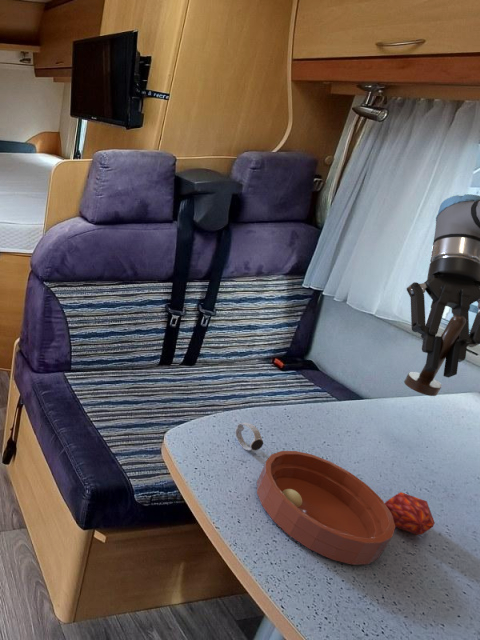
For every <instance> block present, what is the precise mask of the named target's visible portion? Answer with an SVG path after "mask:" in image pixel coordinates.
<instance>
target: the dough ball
mask: <svg viewBox="0 0 480 640" xmlns="http://www.w3.org/2000/svg"><path fill="white" fill-rule="evenodd" d="M282 493H283V494H284V496H285V497H286V498H287V499H288V500H289V501H290V502H291V503H293V504H294V505H295V506H296V507H297V508H299V507H300V506H301V505H302V498H301V496H300V494H299V493H298V492H296V491H295V490H292V489H285V490H283V491H282Z"/></svg>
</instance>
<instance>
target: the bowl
mask: <svg viewBox="0 0 480 640" xmlns="http://www.w3.org/2000/svg"><path fill="white" fill-rule="evenodd" d="M285 489H292V490H295V491H296V492H298V493H299V494H300V496H301V498H302V505H301V506H300V507H299V508H297V507H296V506H295V505H294V504H293V503H291V502H290V501H289V500H288V499H287V498H286V497H285V496H284V494H283V493H282V491H283V490H285ZM256 494H257V497H258V500H259V502H260V504H261V506H262V507H263V509H264V510H265V512H266V513H267V514H268V516H269V517H270V518H271V520H272V521H273V522H274V523H275V524H276V525H277V526H278V527H280V529H282V530H283V532H285V533H286V534H287V535H288V536H289V537H291V538H292V539H293V540H295V541H297V542H298V543H299V544H301V545H302V546H304V547H306V548H307V549H308V550H310V551H313V552H315V553H317V554H319V555H321V556H324V557H325V558H328V559H329V560H333V561H336V562H340V563H345V564H348V565H353V566H354V565H369V564H371V563H373V562H375V561H376V560H378V559H380V557H381V556H382V554H383V553H384V551H385V549H386V548H387V546H388V544H389V543H390V541H391V539H392V538H393V536H394V532H395V530H396V527H395V523H394V520H393V517H392V514H391V512H390V510H389V509H388V507H387V506H386V505H385V502H384V500H383V499H382V497H381V496H380V495H378V494H377V493H376V492H375V491H374V490H373V489H372V488H371V487H370V486H369V485H368V484H367V483H366V482H364V481H363V480H361V479H360V478H359V477H357V476H356V475H355V474H353V473H352V472H351V471H348V470H347V469H345V468H343V467H341V466H339V465H337V464H336V463H334V462H333V461H330V460H327V459H325V458H322V457H320V456H317V455H314V454H312V453H307V452H302V451H298V450H280V451H278V452H275V453H271V455H269V457H268V458H267V460H265V463H264V465H263V467H262V469H261V472H260V474H259V475H258V479H257V480H256Z"/></svg>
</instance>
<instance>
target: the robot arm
mask: <svg viewBox="0 0 480 640" xmlns="http://www.w3.org/2000/svg"><path fill="white" fill-rule="evenodd" d="M434 229H435V230H434V236H433V242H432V247H431V248H432V249H431V255H430V263H429V266H428V270H427V277H426V278H427V279H426V280H425V281H424V282H422V283H419V282H416V281H415V282H412V283H411V284H410V285H409V286H407V287H406V292H407V294H408V296H409V297H410V320H411V321H410V323H411V331H412V332H414V333H418V334H420V337H421V339H422V343H421V344H422V345H421V352H423V353H425V354H426V359H425V364H426V366H425V365H424V366H425V371H428V372H431V371H434V370H436V369H437V368H438V362H439V355H440V348H441V341H442V337H441V336H439V335H437V334H438V332H439V328H440V326H441V322H442V319H443V316H444V312H445V310H446V307H448V308H451V314H452V317H453V316H455V315H460V316H463V317H464V318H465V319H466V323H465V325H464V327H463V329H462V330H461V332H460V334H459V336H458V337H457V339H456V341H455V343H454V344H453V346H452V348H451V349H450V351H449V353H448V355H447V356H446V358H445V360H444V362H445V363H444V370H443V375H442V376H443V377H445V378H448V379H449V378H451V377H454V376H456V375H457V374H458V368H459V363H461V362H464V361H465V360H466V357H467V351H468V347H469V348H474V347H477V346H479V345H480V195H478V194H470V193H467V194H464V195H458V194H456V195H453V196H450V197H447V198H446V199H444V200H443V201H442V202H441V203H440V204H439V208H438V212H437V214H436V217H435V228H434ZM425 293H426V294H427V295H428V296H429V297H430V299H431V300H432V301H431V304H430V311H429V313H428V317H427V320H426V301H425ZM475 302H476V303H477V309H478V311H477V312H476V314H475V317H474V320H473V323H472V326H471V328H470V321H469V320H470V318H469V315H470V314H469V311H470V309H471V305H473V304H474V303H475Z"/></svg>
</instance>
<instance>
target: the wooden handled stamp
mask: <svg viewBox="0 0 480 640" xmlns="http://www.w3.org/2000/svg"><path fill="white" fill-rule="evenodd" d="M465 323H466V319H465V318H464V317H463V316H460V315H455V316H453V315H452V316H451V318H450V319H449V321H448V322H447V324H446V327H445V328H444V330H443V332H442V333H441V336H440V337H442V341H441V348H440V355H439V362H438V368H437V369H436V370H434V371H431V372H428V371H425V366H426V363H425V364H424V366H423V368H422V369H421V371H420V372H417V371H410V372H408V374H407V375H406V377H405V379H404V381H403V382H404V384H405V386H407V387H408V388H409V389H411V390H413V392H417V393H418V394H420V395H421V394H422V395H425V396H429V397H436V396H437V395H438V394H439V392H440V391H441V389H442V387H443V385H442V383H441V382H440V381H438V380H437V379H435V377H436V376H437V374H438V373H439V371H440V368H441V367H442V365H443V364H444V362H445V361H446V356H447V355H448V353H449V351H450V349H451V348H452V346H453V344H454V343H455V341H456V339H457V337H458V336H459V334H460V332H461V330H462V329H463V327H464V325H465Z"/></svg>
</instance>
